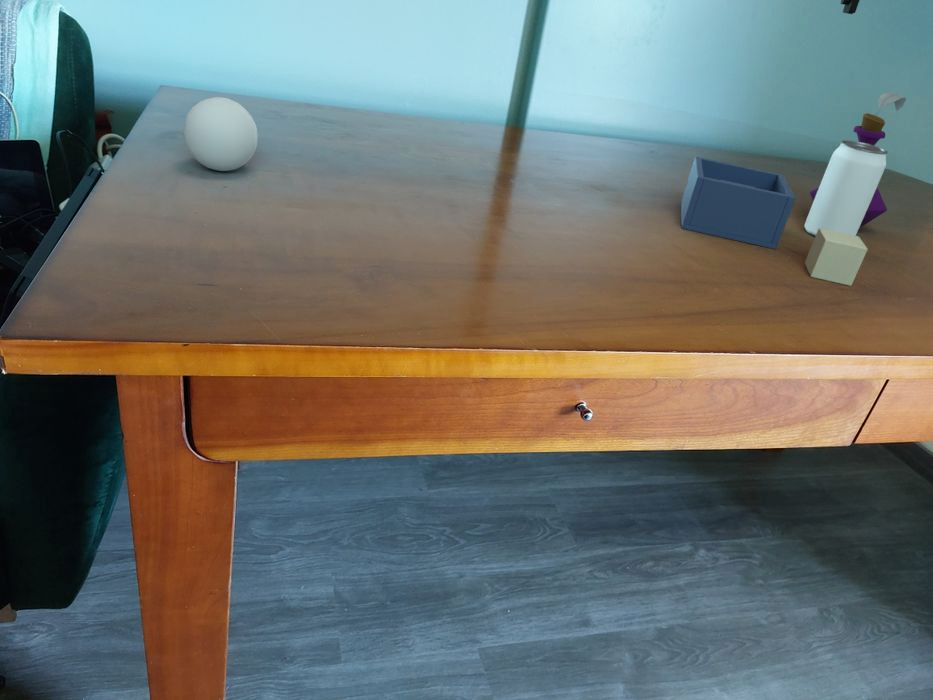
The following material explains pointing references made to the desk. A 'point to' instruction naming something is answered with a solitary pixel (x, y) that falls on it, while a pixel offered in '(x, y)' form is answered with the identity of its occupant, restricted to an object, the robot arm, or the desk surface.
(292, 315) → the desk surface
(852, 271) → the cream block
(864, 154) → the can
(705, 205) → the blue bin
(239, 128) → the ball
